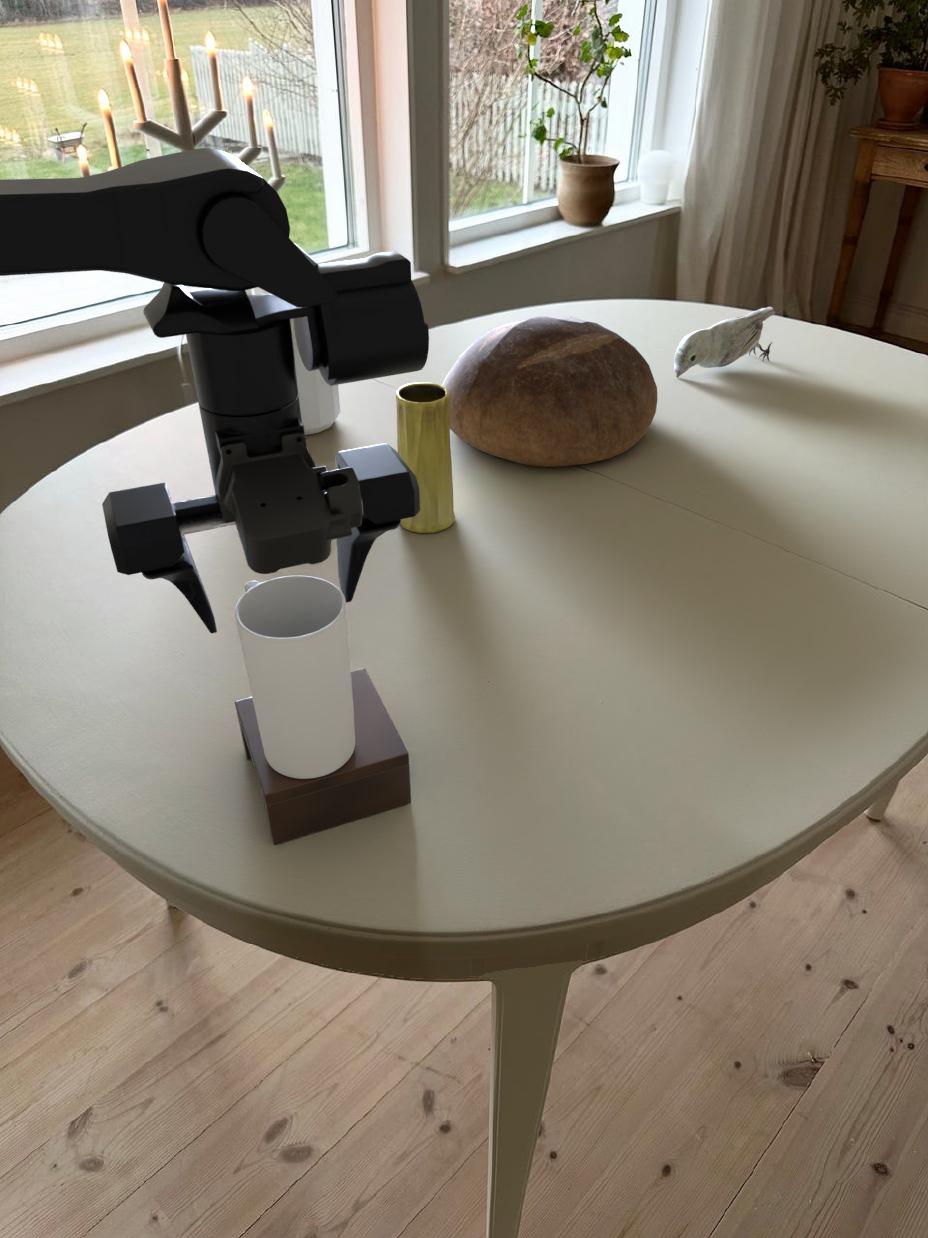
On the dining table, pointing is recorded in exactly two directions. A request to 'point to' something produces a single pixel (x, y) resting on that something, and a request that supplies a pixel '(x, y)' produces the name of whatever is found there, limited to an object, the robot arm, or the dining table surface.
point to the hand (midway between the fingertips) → (281, 614)
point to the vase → (427, 452)
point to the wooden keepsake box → (344, 794)
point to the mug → (299, 673)
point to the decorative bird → (722, 342)
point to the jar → (312, 391)
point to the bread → (551, 393)
